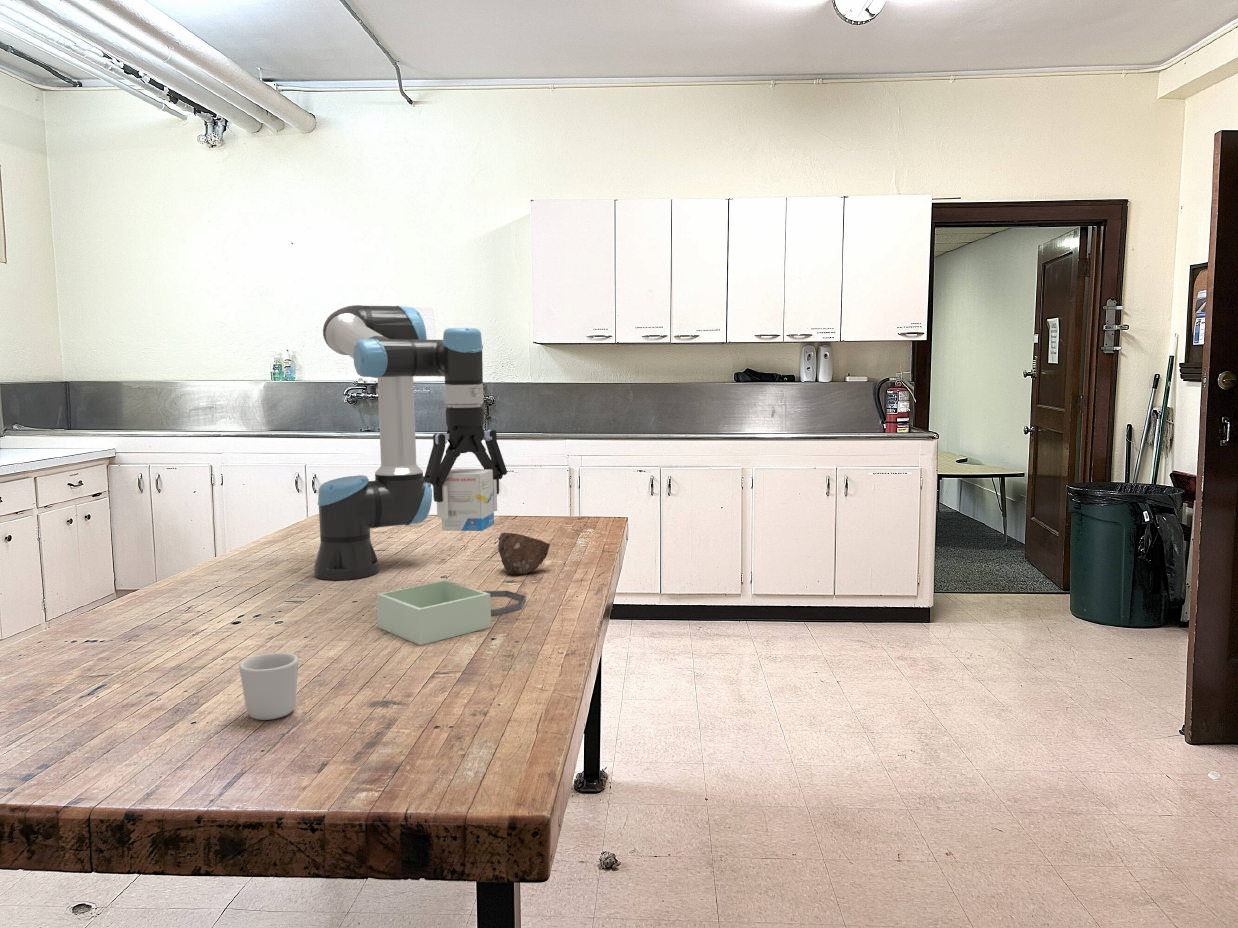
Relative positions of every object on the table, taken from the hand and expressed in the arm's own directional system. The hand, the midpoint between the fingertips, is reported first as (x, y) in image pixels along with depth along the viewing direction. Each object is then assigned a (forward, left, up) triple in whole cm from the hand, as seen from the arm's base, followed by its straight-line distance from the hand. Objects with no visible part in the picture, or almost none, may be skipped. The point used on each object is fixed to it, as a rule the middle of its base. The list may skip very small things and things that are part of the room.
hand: (467, 514), depth 179 cm
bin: (+4, -11, -20) cm, 23 cm away
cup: (+23, -50, -21) cm, 59 cm away
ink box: (0, 0, -3) cm, 3 cm away
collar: (-2, +6, -20) cm, 21 cm away
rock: (-20, +28, -21) cm, 40 cm away
